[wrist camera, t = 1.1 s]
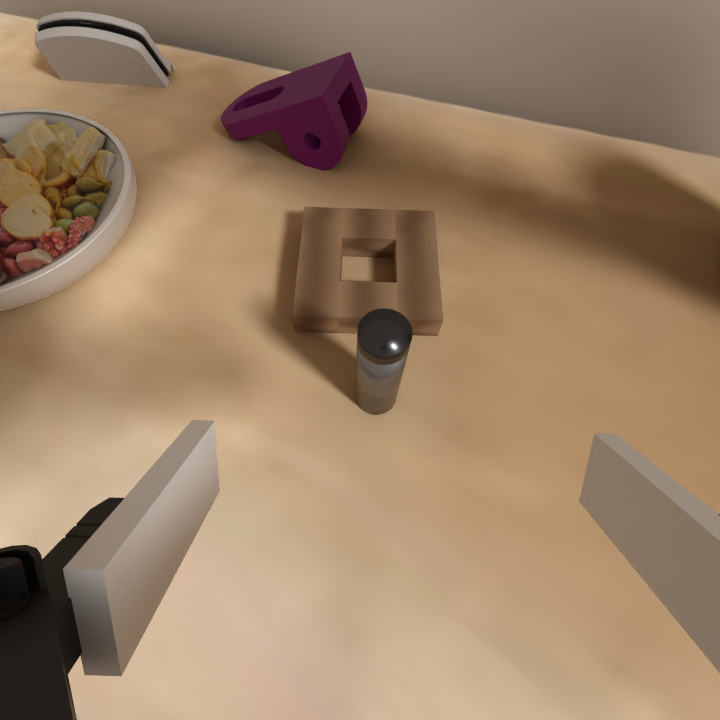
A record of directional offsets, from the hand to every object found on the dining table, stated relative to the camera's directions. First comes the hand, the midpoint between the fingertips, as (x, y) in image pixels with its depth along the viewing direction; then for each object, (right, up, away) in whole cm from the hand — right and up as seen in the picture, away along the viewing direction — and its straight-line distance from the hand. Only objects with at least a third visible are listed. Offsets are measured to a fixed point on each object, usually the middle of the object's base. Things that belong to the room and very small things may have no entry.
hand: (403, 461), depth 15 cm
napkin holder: (-39, +46, +50) cm, 79 cm away
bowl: (-42, +20, +36) cm, 59 cm away
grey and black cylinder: (0, 0, +27) cm, 27 cm away
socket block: (-1, +13, +33) cm, 36 cm away
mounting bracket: (-11, +35, +45) cm, 58 cm away
